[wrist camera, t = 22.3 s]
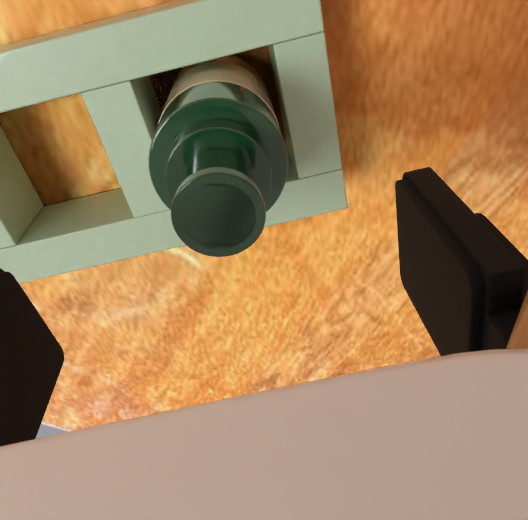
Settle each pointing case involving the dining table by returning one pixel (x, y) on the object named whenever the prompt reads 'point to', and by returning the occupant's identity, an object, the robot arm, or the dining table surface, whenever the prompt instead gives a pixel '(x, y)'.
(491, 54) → the dining table surface
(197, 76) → the bottle
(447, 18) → the dining table surface
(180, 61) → the rack
